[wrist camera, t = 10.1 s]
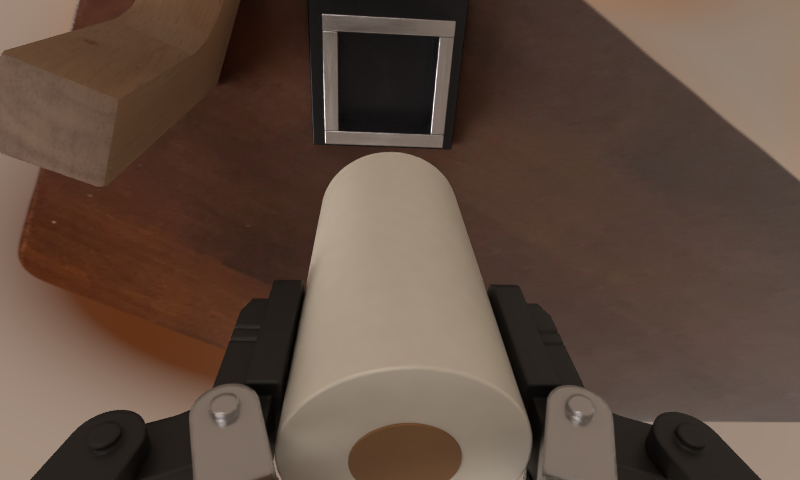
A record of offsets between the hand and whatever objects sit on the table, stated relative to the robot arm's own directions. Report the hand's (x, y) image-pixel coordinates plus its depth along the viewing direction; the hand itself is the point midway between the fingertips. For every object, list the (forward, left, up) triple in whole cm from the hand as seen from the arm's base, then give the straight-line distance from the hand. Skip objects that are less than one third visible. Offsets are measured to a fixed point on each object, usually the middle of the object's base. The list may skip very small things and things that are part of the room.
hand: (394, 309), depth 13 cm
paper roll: (0, 0, -5) cm, 5 cm away
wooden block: (-4, -13, -28) cm, 31 cm away
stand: (0, 0, -27) cm, 27 cm away
